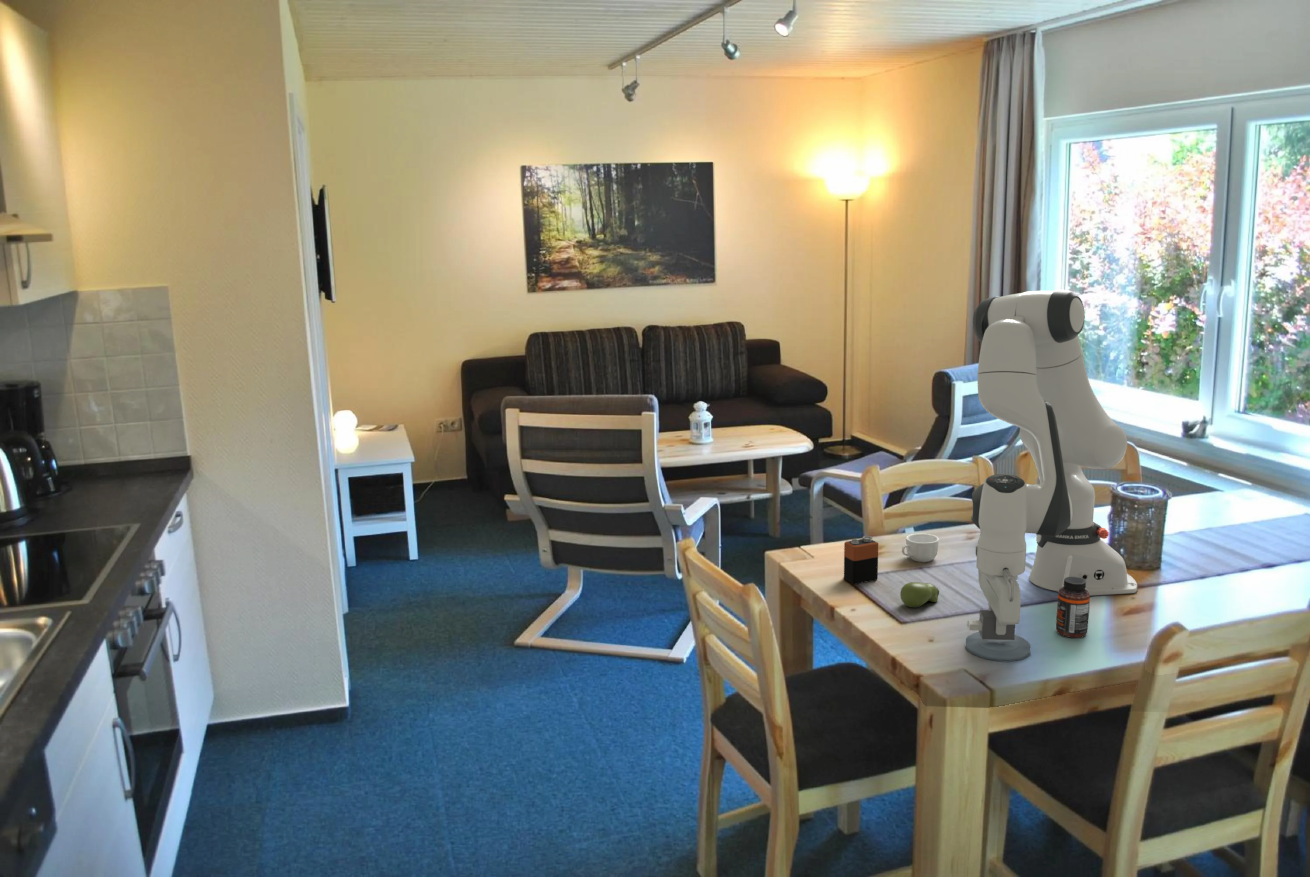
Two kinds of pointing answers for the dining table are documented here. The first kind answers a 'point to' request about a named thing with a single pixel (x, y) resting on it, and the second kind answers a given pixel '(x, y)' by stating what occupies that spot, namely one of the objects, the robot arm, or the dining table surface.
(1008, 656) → the plate
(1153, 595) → the dining table surface
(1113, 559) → the robot arm
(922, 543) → the teacup
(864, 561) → the battery
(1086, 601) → the supplement bottle
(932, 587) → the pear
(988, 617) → the block
